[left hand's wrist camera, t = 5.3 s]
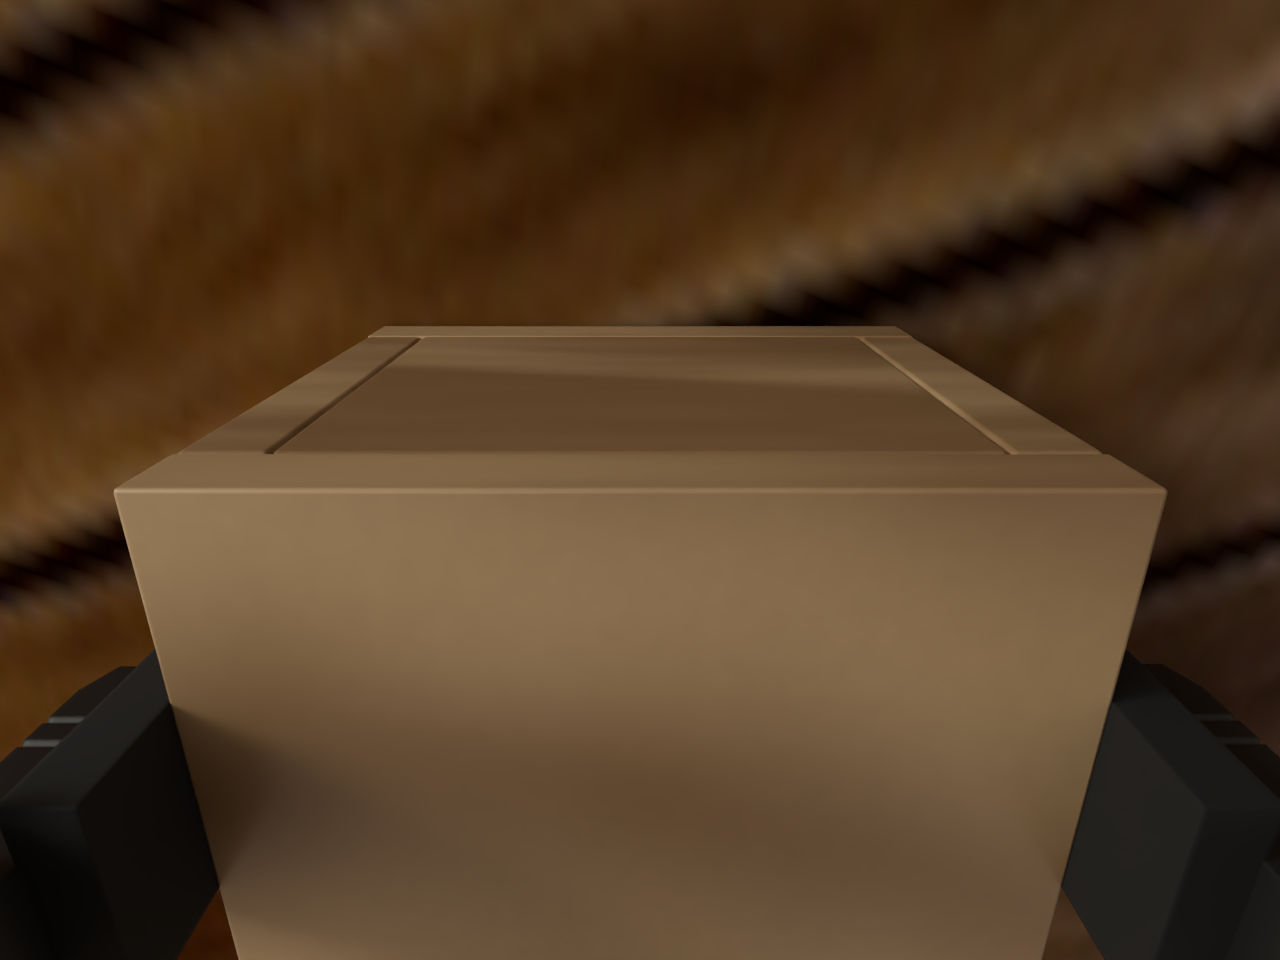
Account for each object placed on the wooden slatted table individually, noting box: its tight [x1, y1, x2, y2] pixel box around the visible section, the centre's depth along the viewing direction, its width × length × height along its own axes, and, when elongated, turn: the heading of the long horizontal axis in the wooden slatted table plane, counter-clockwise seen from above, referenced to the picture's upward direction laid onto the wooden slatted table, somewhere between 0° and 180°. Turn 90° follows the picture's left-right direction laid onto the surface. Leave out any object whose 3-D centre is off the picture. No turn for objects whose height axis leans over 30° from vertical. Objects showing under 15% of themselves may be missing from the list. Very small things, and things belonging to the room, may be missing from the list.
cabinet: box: [114, 326, 1167, 960], centre depth 15 cm, size 22×10×9 cm, turn 0°
